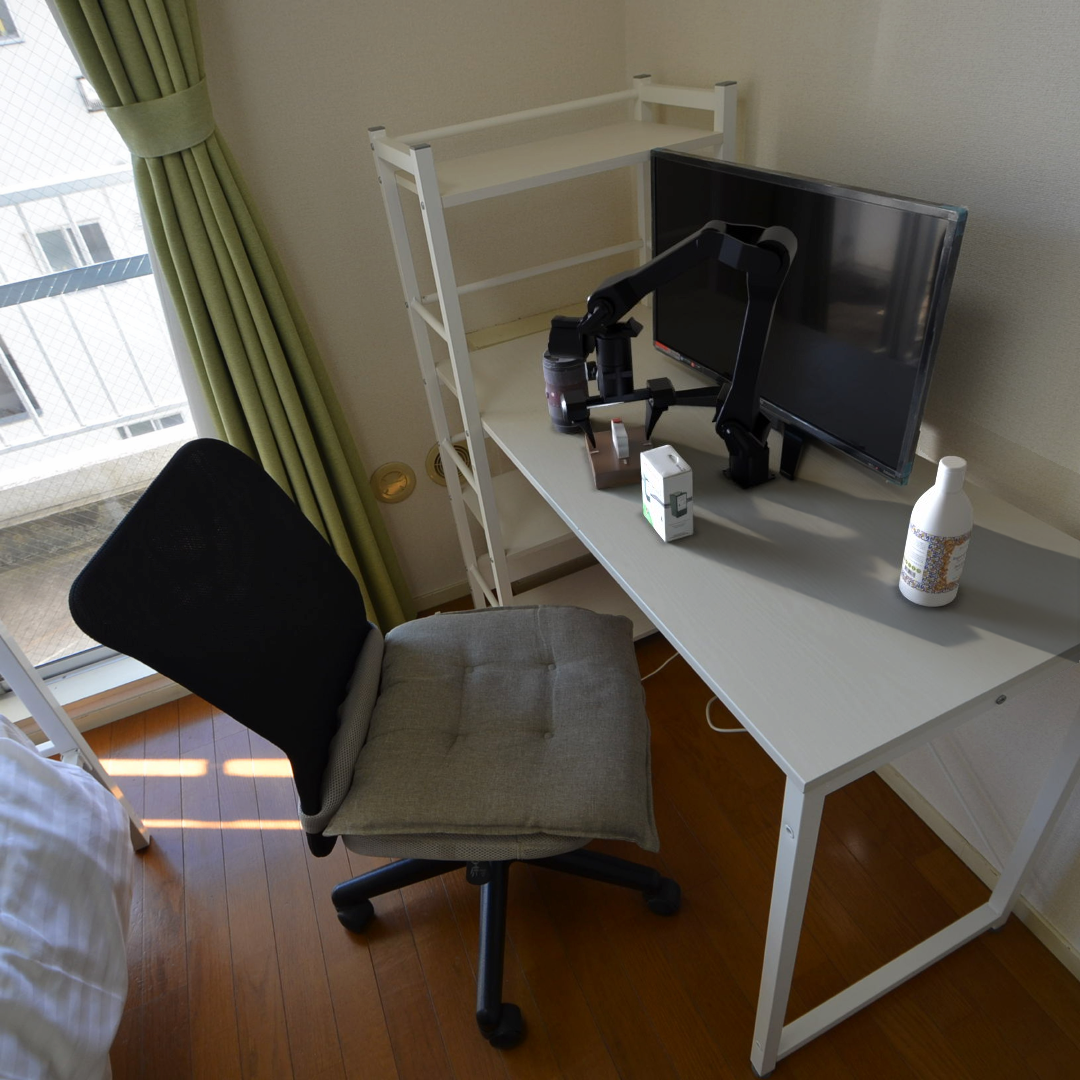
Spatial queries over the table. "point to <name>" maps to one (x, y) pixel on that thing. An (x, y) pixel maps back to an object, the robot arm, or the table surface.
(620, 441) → the small grey box
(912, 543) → the bath foam
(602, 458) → the brown flat block
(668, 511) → the ink box
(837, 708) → the table surface
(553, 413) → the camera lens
